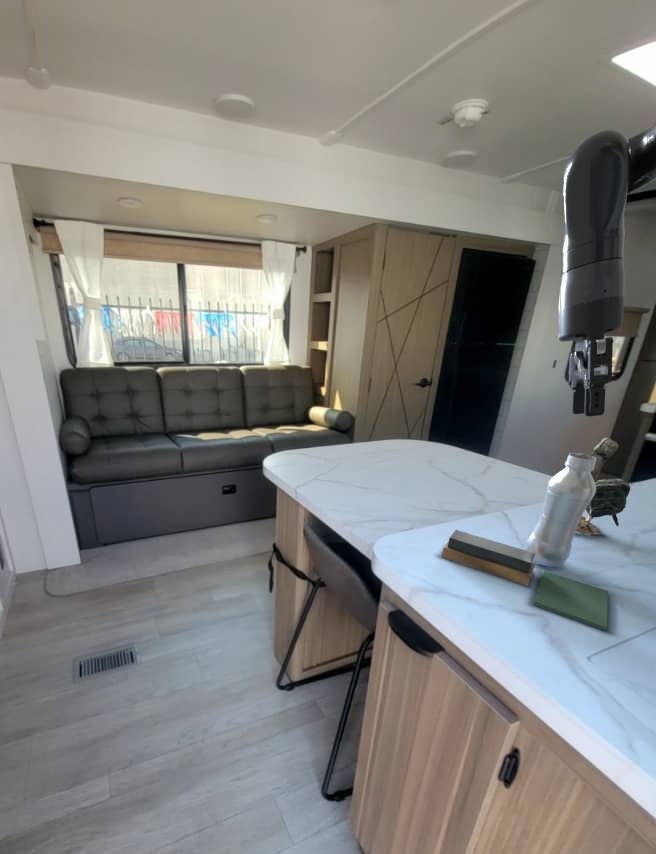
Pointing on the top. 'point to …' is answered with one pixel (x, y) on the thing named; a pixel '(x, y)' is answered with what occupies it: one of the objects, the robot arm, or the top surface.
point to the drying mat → (573, 599)
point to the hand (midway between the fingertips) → (586, 414)
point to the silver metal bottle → (562, 510)
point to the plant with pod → (604, 493)
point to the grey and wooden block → (490, 556)
